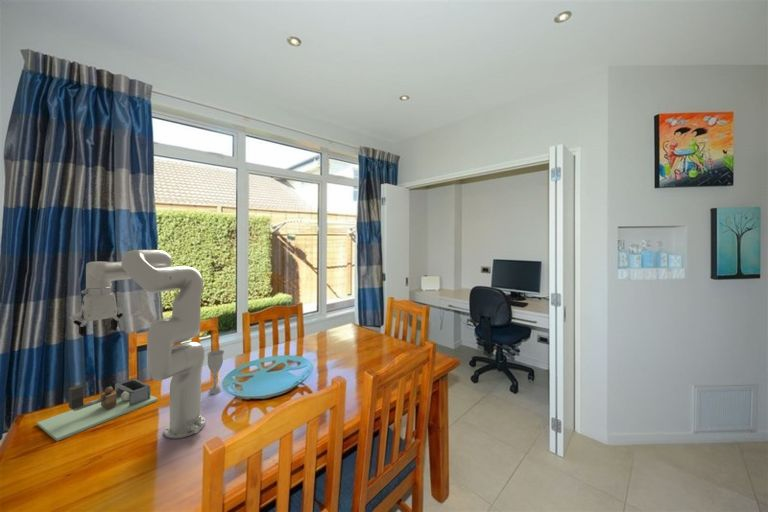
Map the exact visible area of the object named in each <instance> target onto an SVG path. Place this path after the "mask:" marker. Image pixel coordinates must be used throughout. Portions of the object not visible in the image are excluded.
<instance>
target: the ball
mask: <svg viewBox="0 0 768 512" xmlns="http://www.w3.org/2000/svg"><path fill="white" fill-rule="evenodd" d="M121 399H122V400H124V401H127V400H129V393H127V392H126V391H125V392H123V393H122V395H121Z"/></svg>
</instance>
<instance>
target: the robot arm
mask: <svg viewBox="0 0 768 512" xmlns="http://www.w3.org/2000/svg"><path fill="white" fill-rule="evenodd" d="M172 259H173V258H172V256H171V255H170V254H169V253H168V252H166V251H164V250H161V249H132V250H129V251H127V252H126V253H124V254H123V256H122V258H121V261H90V262H87V263H86V264H85V287H84V288H85V289H83V290H81V294H84V296H83V298H82V301H81V308H80V310H79V311H78V312H76V313H73V314H72V315H70V316H69V317H68V319H70V321H71V322H72V323H73V324H75V325H77V326H78V334H79V335H80V336H82V337H87V326H86V325H87V323H88V322H92V321H93V322H94V321H100V320H105V319H106V320H107V319H111V320H110V329H111V330H112V331H116V330H117V328H118V322H119V320H120V319H121V317H123V315H124V313H125V311H126V308H124V307H118V306H117V300H116V296H115V294H114V293H112V282H114V281H121V280H122V281H125V280H133V281H134V282H135V283H136V284H137V285H138V286H140V287H141V288H142V289H143V290H144V291H146V292H149V293H160V292H161V293H162V292H168V291H174V290H175V291H176V290H179V291H178V293H177V294H176V295H175V297H174V300H173V302H172V311H171V312H172V313H171V316H169V317H166V318H162V319H159V320H156V321H155V322H153V323H151V325H150V327H149V329H148V331H147V336H146V367H147V373H148V376H149V377H150V378H151V379H152V380H154V381H158V382H159V381H164V380H166V379H169V378H171V380H170V382H169V383H170V385H169V424H167V425H166V427H164V431H163V434H164V436H165V437H166V438H169V439H175V440H176V439H183V438H186V437H189V436H192V435H194V434H198V433H199V432H200V431H201V430H202V429H203V428H204V426H205V424H206V418H205V417H204V416H202V415H201V412H202V409H201V408H202V407H201V406H202V405H201V403H202V371H203V366H204V365H203V364H204V360H205V357H206V356H205V355H206V354H205V348H204V346H203V345H202V344H201V343H200V342H197V341H189V340H192V339H195V338H196V337H197V336H198V335H199V334H200V333H201V332H200V331H201V309H202V307H201V304H202V303H201V300H202V294H203V290H204V281H203V276H202V274H201V272H200V271H199V270H198V269H196V268H194V267H193V266H192V267H191V266H186V265H185V266H184V265H180V266H179V265H178V266H171V264H172V261H173V260H172ZM79 317H80V319H81V320H80V321H79V320H78V318H79ZM187 341H188V342H187ZM180 343H181V344H180Z"/></svg>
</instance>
